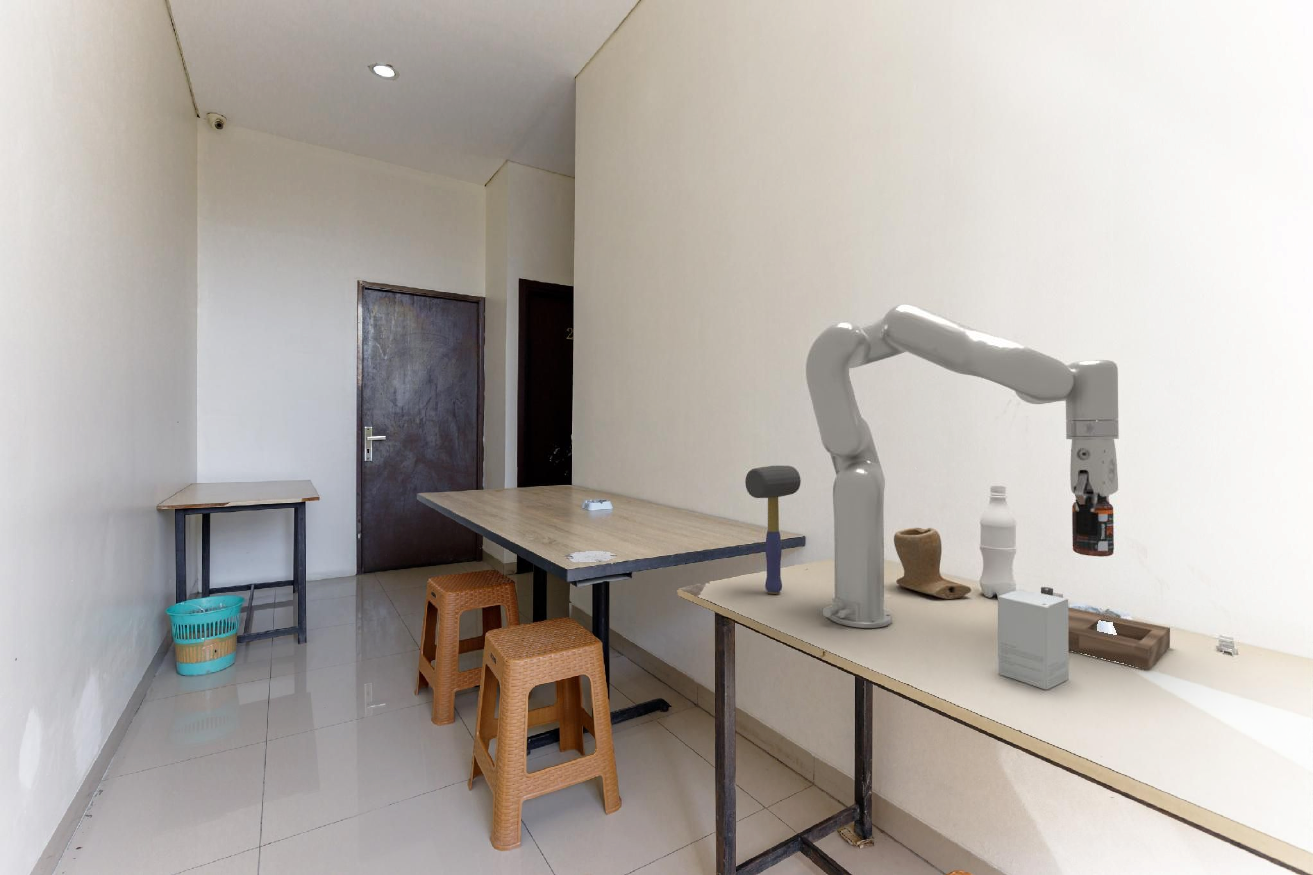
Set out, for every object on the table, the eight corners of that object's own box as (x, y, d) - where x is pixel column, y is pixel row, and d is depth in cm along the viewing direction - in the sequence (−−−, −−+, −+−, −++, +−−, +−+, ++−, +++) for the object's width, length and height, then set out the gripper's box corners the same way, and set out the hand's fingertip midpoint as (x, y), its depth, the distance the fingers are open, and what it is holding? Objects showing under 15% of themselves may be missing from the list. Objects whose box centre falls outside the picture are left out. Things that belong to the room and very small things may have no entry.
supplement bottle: (1116, 558, 102) (1115, 492, 102) (1073, 555, 105) (1072, 491, 105) (1111, 551, 107) (1110, 488, 107) (1071, 549, 110) (1070, 488, 110)
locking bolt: (1048, 612, 113) (1048, 593, 113) (1030, 609, 115) (1030, 590, 115) (1062, 604, 118) (1063, 586, 118) (1045, 600, 120) (1045, 583, 120)
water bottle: (1006, 592, 139) (1007, 485, 138) (1022, 601, 132) (1022, 488, 131) (974, 591, 140) (974, 485, 139) (988, 600, 133) (988, 488, 132)
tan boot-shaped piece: (882, 587, 145) (882, 525, 144) (921, 581, 149) (921, 522, 148) (932, 604, 130) (932, 536, 130) (972, 598, 135) (973, 532, 134)
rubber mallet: (780, 585, 147) (779, 463, 146) (804, 592, 141) (803, 465, 140) (743, 594, 140) (742, 466, 139) (766, 601, 134) (765, 467, 133)
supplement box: (1070, 679, 93) (1071, 598, 92) (1046, 691, 89) (1047, 607, 88) (1020, 663, 99) (1020, 587, 99) (996, 673, 95) (996, 594, 95)
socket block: (1147, 670, 95) (1148, 649, 95) (999, 633, 112) (999, 615, 112) (1169, 647, 105) (1170, 627, 105) (1029, 616, 122) (1029, 599, 122)
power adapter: (1237, 655, 102) (1238, 637, 102) (1236, 659, 101) (1236, 641, 100) (1213, 650, 105) (1213, 632, 104) (1211, 654, 103) (1211, 636, 103)
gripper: (1103, 432, 97) (1104, 542, 98) (1131, 429, 108) (1132, 528, 109) (1050, 432, 103) (1052, 536, 104) (1082, 429, 114) (1083, 523, 115)
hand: (1093, 531), depth 106 cm, fingers closed on supplement bottle, 5 cm apart
